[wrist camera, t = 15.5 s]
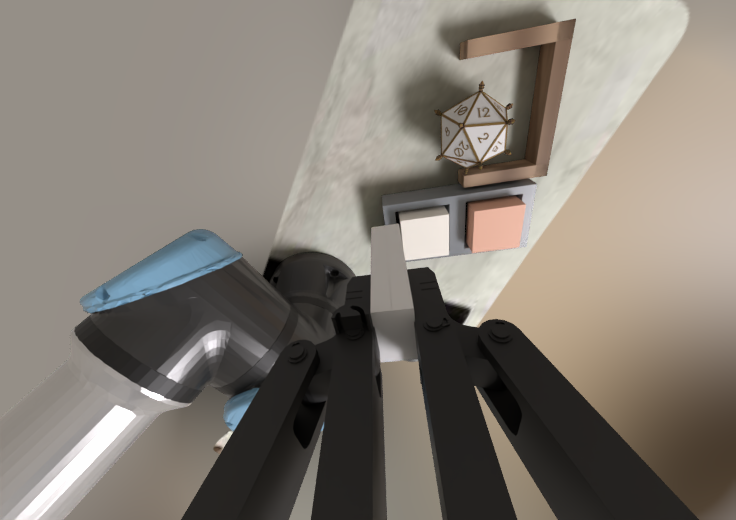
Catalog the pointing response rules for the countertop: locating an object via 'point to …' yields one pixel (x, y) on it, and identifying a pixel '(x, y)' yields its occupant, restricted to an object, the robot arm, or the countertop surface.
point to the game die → (474, 130)
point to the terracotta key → (494, 223)
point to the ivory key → (425, 232)
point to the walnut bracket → (545, 97)
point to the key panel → (460, 207)
